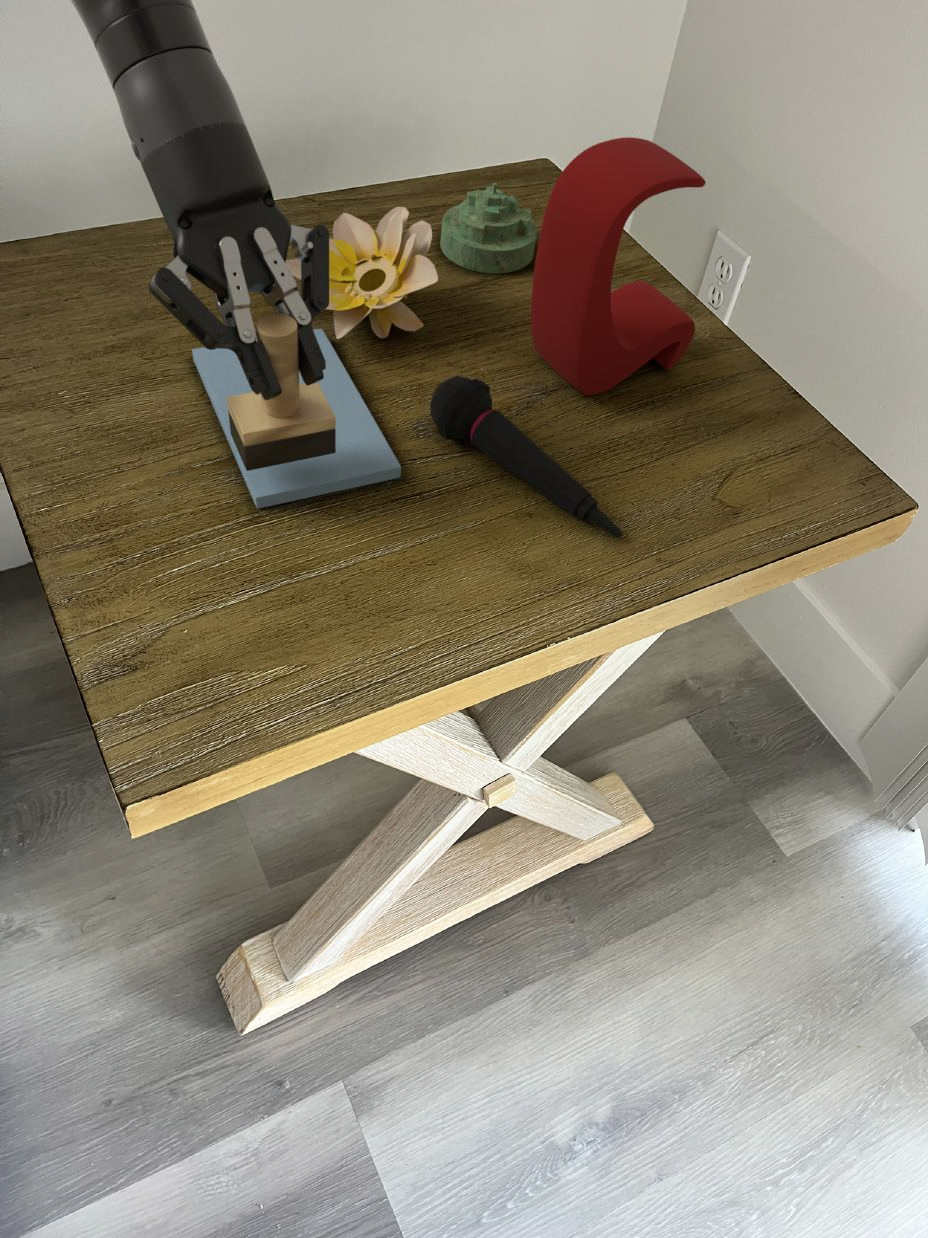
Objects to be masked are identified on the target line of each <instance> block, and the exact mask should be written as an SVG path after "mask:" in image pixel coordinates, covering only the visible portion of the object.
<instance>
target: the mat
mask: <svg viewBox="0 0 928 1238" xmlns="http://www.w3.org/2000/svg"><path fill="white" fill-rule="evenodd" d="M313 331H314V334H315V336H316V339H317V341H318V344H319V346H320V349H321V351H322V354H323V356H324V359H325V361H326V369H324V370H323V374H324V378H323V379H322V380H320V381H318V384H319V386H320V388H321V390H322V392H323V394H324V396H325V398H326V399H327V401H328V403H329V405H330V407H331V409H332V411H333V413H334V414H335V416H336V428H335V429H336V453H333V454H328V455H323V456H319V457H314V458H309V459H304V460H299V461H294V462H289V463H284V464H279V465H275V466H270V467H265V468H260V469H255V470H250V471H247V470H246V468H245V466H244V464H243V461H242V459H241V457H240V454H239V452H238V450H237V447H236V445H235V443H234V440H233V438H232V436H231V431H230V422H229V412H228V403H227V397H229V396H235V395H240V394H246V393H251V392H253V390H252V389H251V387H250V385H249V383H248V380H247V378H246V375H245V373H244V371H243V369H242V366H241V364H240V362H239V359H238V357H237V355H236V354H235V353H234V352H233V351H232V350H229V349H219V348H216V349H214V350H209V349H207V348H206V347H204V346H203V347H197V348H192V349H191V352H192V360H193V362H194V365H195V367H196V370H197V372H198V374H199V377H200V378H201V382H202V383H203V386H204V388H205V391H206V393H207V395H208V397H209V400H210V402H211V404H212V408H213V409H214V412H215V414H216V417H217V419H218V421H219V424H220V426H221V428H222V431H223V432H224V436H225V437H226V440H227V443H228V444H229V447H230V449H231V451H232V454H233V456H234V459H235V460H236V463H237V466H238V468H239V470H240V472H241V476H242V478H243V479H244V482H245V484H246V487H247V489H248V491H249V494H250V496H251V498H252V500H253V503H254V505H255V507H256V509H258V510H259V509H262V508H268V507H271V506H277V505H281V504H285V503H290V502H295V501H299V500H303V499H309V498H315V497H318V496H322V495H327V494H332V493H335V492H341V491H346V490H350V489H355V488H359V487H364V486H368V485H372V484H378V483H381V482H387V481H391V480H396V479H400V478H401V475H402V466H401V464H400V462H399V460H398V458H397V457H396V455H395V453H394V451H393V450H392V447H391V446H390V444H389V443H388V441H387V440H386V439H387V438H385V436H384V434H383V433H382V431H381V429H380V427H379V425H378V423H377V422H376V420H375V418H374V416H373V415H372V413H371V411H370V409H369V408H368V406H367V404H366V403H365V400H364V399H363V398H362V396H361V394H360V391H359V390H358V388H357V387H356V385H355V383H354V381H353V380H352V378H351V376H350V375H349V373H348V370H347V369H346V368H345V366H344V364H343V363H342V361H341V359H340V357H339V355H338V353H337V351H336V349H335V348H334V347H333V345H332V343H331V342H330V340H329V337H328V336H327V334H326V332H325V331H324V329H323V328H315V329H313ZM256 341H257V338H256ZM302 383H304V381H303V378H302V376H301V374H300V371H299V384H302Z"/></svg>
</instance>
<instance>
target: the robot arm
mask: <svg viewBox="0 0 928 1238" xmlns="http://www.w3.org/2000/svg"><path fill="white" fill-rule="evenodd" d="M70 2H71V4H72V5H73V7H74V8H75V10H76V12H77V14H78V15H79V17H80V19H81V21H82V23H83V25H84V27H85V29H86V31H87V33H88V35H89V37H90V40H91V41H92V43H93V45H94V49H95V50H96V52H97V55H98V57H99V60H100V61H101V64H102V67H103V69H104V71H105V74H106V76H107V79H108V80H109V83H110V86H111V88H112V90H113V92H114V95H115V97H116V100H117V104H118V107H119V110H120V115H121V118H122V121H123V124H124V128H125V130H126V132H127V135H128V137H129V140H130V143H131V148H132V151H133V154H134V156H135V158H136V159H137V160H138V161H139V163H140V166H141V168H142V170H143V173H144V175H145V177H146V179H147V182H148V184H149V187H150V189H151V191H152V194H153V196H154V198H155V200H156V203H157V206H158V207H159V210H160V212H161V214H162V217H163V219H164V222H165V224H166V227H167V228H168V230H169V232H170V234H171V236H172V241H173V249H172V255H173V260H172V261H170V262H169V264H167V265H166V266H165V267H161V268H159V269H158V270H157V271H156V272H155V273H154V275H153V276H152V278H151V279H150V280H149V282H148V284H147V289H148V291H149V292H150V294H151V295H152V296H153V297H154V298H155V299H156V300H157V301H158V302H159V303H160V304H161V305H162V306H163V307H164V308H165V309H166V310H167V311H168V312H169V313H171V315H172V316H173V317H174V318H175V319H176V320H177V321H178V322H179V324H181V325H182V326H183V327H184V328H185V329H186V330H187V331H188V332H189V333H190V334H191V335H192V336H193V337H194V338H195V339H196V340H197V341H198V342H199V343H200V344H201V345H202V346H203V347H206V348H207V349H209V350H214V349H216V348H219V349H229V350H232V351H233V352H234V353H235V354H236V355H237V357H238V359H239V362H240V364H241V366H242V369H243V371H244V373H245V375H246V378H247V380H248V383H249V385H250V387H251V389H252V390H253V392H254V393H255V394H256V395H258V394H261V395H262V397H263V399H264V400H266V401H267V400H270V399H272V398H275V397H277V396H279V395H280V394H281V393H282V390H281V386H280V384H279V381H278V379H277V377H276V374H275V372H274V370H273V367H272V365H271V362H270V360H269V358H268V355H267V353H266V350H265V348H264V346H263V343H262V341H261V342H258V343H257V341H256V339H257V331H256V326H255V322H254V320H253V316H252V315H253V314H252V312H251V306H252V305H251V304H252V302H251V301H252V300H251V296H250V293H252V292H253V293H256V292H257V293H259V294H260V295H261V296H262V299H263V300H264V301H265V303H266V305H267V306H268V307H270V308H272V310H273V311H274V313H279V314H285V315H288V316H290V317H292V318H293V319H294V320H295V321H296V323H297V329H298V357H299V371H300V374H301V376H302V378H303V381H304V383H305V384H306V385H307V386H308V385H311V384H314V383H317V382H318V381H320V380H322V379H323V378H324V374H323V370H324V369H326V361H325V359H324V356H323V354H322V351H321V349H320V346H319V344H318V341H317V339H316V336H315V334H314V331H313V330H314V329H313V321H314V319H315V318H316V317H317V316H318V315H319V314H321V312H324V310H327V309H326V308H327V307H328V305H329V239H330V231H329V230H328V228H327V227H326V226H325V225H323V224H317V225H315V226H314V227H313V228H308V227H303V226H299V225H295V224H291V221H290V220H289V218H288V217H287V216H286V214H284V213H283V212H282V211H281V210H280V209H279V207H278V206H277V204H276V202H275V199H274V195H273V191H272V187H271V184H270V182H269V179H268V177H267V174H266V172H265V170H264V167H263V164H262V162H261V160H260V157H259V155H258V152H257V149H256V147H255V144H254V142H253V140H252V137H251V135H250V133H249V130H248V127H247V125H246V122H245V120H244V117H243V115H242V112H241V110H240V107H239V104H238V103H237V100H236V97H235V95H234V93H233V91H232V89H231V86H230V84H229V82H228V80H227V79H226V77H225V75H224V74H223V72H222V70H221V68H220V66H219V64H218V62H217V59H216V57H215V56H214V52H213V51H212V48H211V44H210V43H209V41H208V38H207V35H206V33H205V30H204V28H203V26H202V23H201V21H200V17H199V15H198V14H197V11H196V9H195V6H194V4H193V1H192V0H70ZM289 246H292V249H293V252H294V253H293V254H294V256H295V258H298V259H299V260H301V280H300V293H299V290H298V289H299V288H298V283H297V281H296V279H295V278H294V276H293V275H292V274H291V272H290V271H289V269H288V267H287V265H286V264H285V262H286V260H287V256H288V251H289ZM187 274H189V275H190V276H191V277H192V278H194V279H195V280H196V281H198V282H199V283H201V284H202V285H203V286H204V287H206V288H208V289H209V290H210V291H211V292H212V293H213V298H214V301H215V305H216V308H217V312H218V315H219V317H217V316H216V314H215V313H214V312H213V311H212V310H211V309H210V308H208V306H207V305H206V304H205V303H204V302H203V301H201V299H200V298H199V297H198V296H197V295H196V294H195V293H194V292H193V291H192V281H191V280H190V278H189V277H188V275H187ZM219 318H220V319H219ZM221 320H222V321H221Z"/></svg>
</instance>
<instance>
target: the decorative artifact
mask: <svg viewBox="0 0 928 1238" xmlns="http://www.w3.org/2000/svg"><path fill="white" fill-rule="evenodd" d="M441 219H442V220H441V230H440V240H439V241H440V243H439V244H440V246H439V247H440V249H441V251H442V253H443V255H444V256H445V257H446V258H447V259H448V260H449V261H451V262H452V263H453V264H454V265H457V266H459V267H461V268H464V269H466V270H469V271H473V272H477V273H483V274H493V275H497V274H498V275H499V274H508V273H512V272H513V273H514V272H516V271H519V270H521V269H524V268H525V267H526V266H528V265H529V264H530V263H531V261H532V260H533V258H534V253H535V248H536V247H535V246H536V241H537V236H538V235H537V234H538V228H537V225H536V222H535V221H534V220H533V219H532V211H531V209H530V208H521V206H520V205H519V204H518V201H517V199H516V198H515V197H514V195H512V194H510V195H506V194H504V192H503V191H502V190H501V189H499V188H498V183H497V182H493V183H492V186H486V187H485V190H484V189H483V190H481V189H480V190H479V189H476V190H473V191H468V192H466V198H465V199H463V201H462V202H461V203H459V204H457V205H454V206H452V207H450V208H449V209H448V210H446V211H445V213H444V214H443V216H442V218H441Z"/></svg>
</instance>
